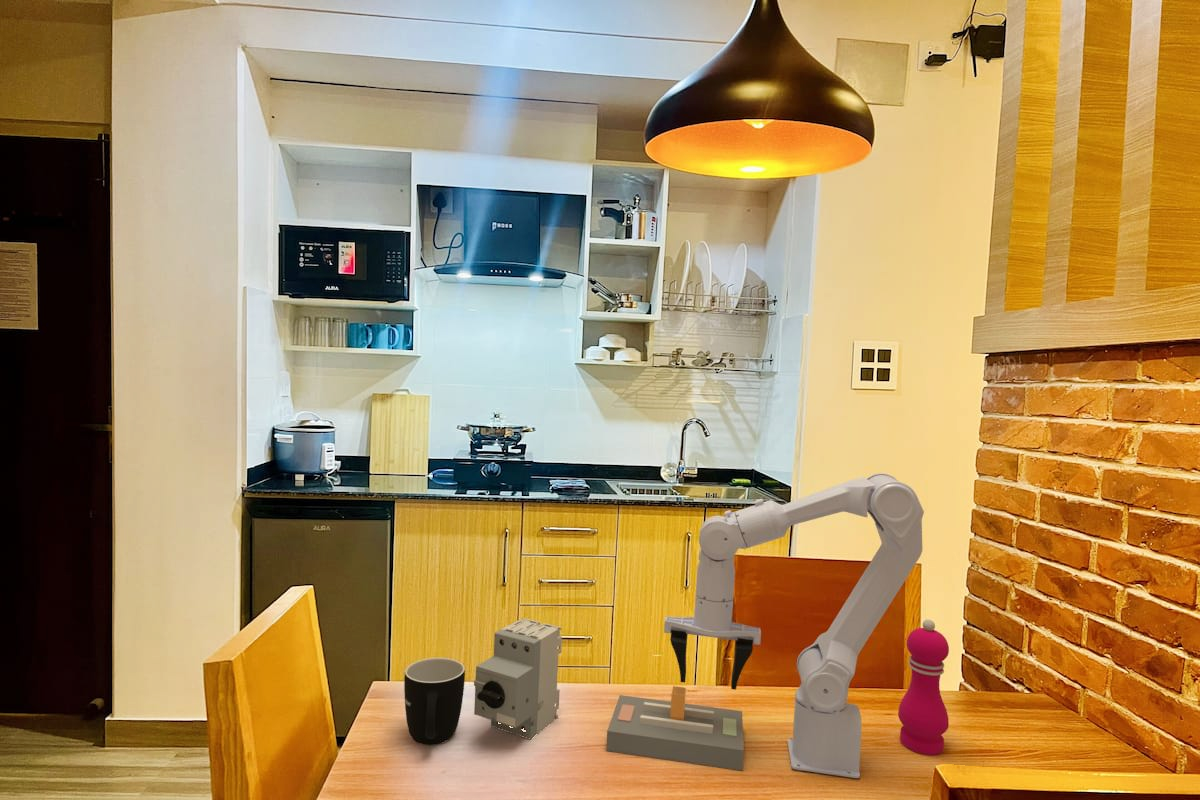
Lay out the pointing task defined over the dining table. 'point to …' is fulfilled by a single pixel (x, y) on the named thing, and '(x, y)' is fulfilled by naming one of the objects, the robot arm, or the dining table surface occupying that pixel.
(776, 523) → the robot arm
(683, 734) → the slider control box
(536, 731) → the circuit breaker
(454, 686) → the mug
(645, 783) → the dining table surface
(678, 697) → the breaker lever
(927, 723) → the pepper mill
